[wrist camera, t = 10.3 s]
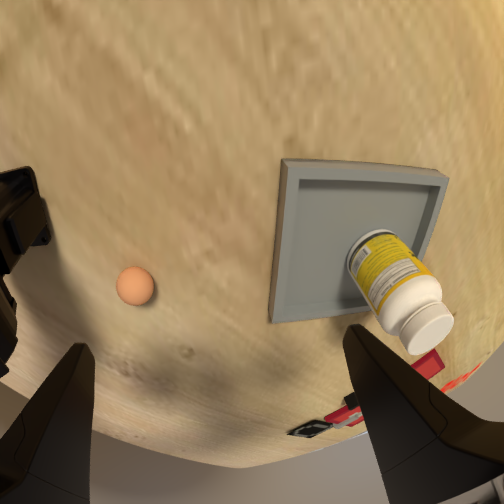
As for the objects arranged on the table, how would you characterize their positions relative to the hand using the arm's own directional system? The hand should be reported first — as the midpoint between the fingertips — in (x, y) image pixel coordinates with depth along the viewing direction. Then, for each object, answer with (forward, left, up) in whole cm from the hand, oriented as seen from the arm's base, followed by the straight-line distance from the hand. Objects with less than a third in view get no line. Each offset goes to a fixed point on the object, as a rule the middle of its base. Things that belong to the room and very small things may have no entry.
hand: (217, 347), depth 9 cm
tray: (+12, -5, -13) cm, 18 cm away
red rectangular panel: (+25, -40, -14) cm, 49 cm away
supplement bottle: (+14, -6, -13) cm, 20 cm away
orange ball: (-6, -7, -13) cm, 16 cm away
